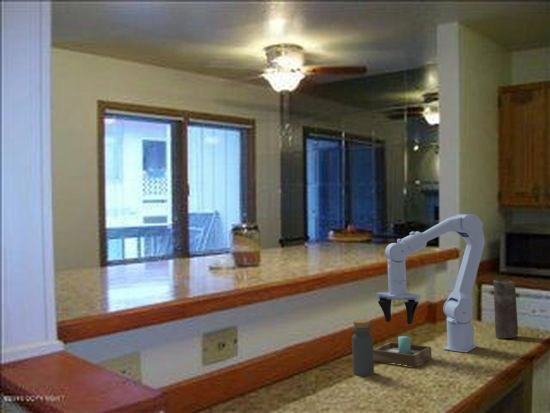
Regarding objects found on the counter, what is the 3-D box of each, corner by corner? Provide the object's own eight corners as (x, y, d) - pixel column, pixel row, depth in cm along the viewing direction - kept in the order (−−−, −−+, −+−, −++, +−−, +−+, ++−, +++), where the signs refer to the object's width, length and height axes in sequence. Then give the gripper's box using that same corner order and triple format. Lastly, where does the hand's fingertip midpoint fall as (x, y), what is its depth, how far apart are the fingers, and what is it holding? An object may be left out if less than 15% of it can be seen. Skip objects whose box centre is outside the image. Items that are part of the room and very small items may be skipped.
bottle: (361, 369, 167) (359, 318, 167) (378, 372, 163) (375, 320, 163) (349, 373, 163) (347, 321, 163) (365, 377, 158) (363, 323, 159)
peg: (396, 360, 174) (395, 337, 174) (403, 358, 177) (402, 335, 177) (407, 362, 172) (406, 339, 172) (413, 359, 174) (412, 337, 174)
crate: (390, 352, 184) (390, 341, 184) (431, 358, 175) (431, 346, 175) (372, 361, 174) (371, 349, 174) (414, 367, 166) (413, 355, 166)
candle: (498, 334, 203) (496, 278, 203) (520, 336, 198) (517, 278, 198) (493, 338, 196) (490, 280, 197) (515, 340, 192) (512, 281, 192)
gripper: (371, 280, 184) (373, 322, 184) (412, 282, 175) (414, 326, 175) (381, 278, 190) (383, 318, 190) (422, 280, 181) (424, 322, 180)
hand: (399, 322), depth 183 cm, fingers open, 7 cm apart
